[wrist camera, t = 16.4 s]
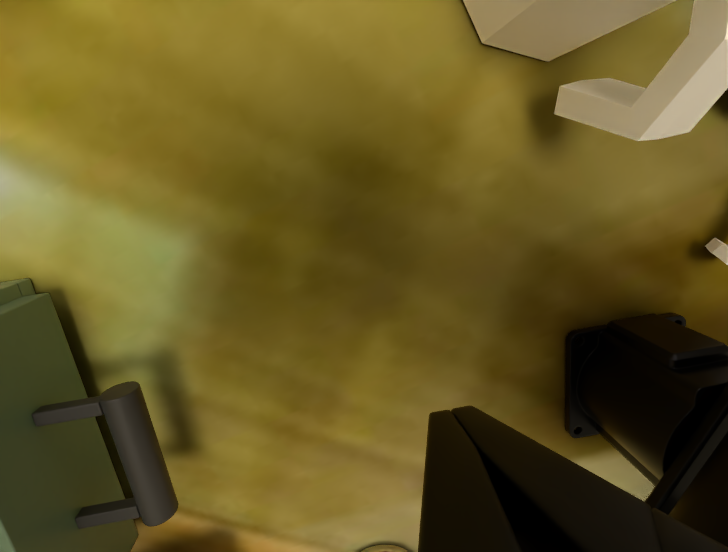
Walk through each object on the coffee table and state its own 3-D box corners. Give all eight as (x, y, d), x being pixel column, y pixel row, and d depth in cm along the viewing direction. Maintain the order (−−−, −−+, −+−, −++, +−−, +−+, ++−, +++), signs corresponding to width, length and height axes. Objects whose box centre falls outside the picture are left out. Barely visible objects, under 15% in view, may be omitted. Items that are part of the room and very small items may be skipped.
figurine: (540, 144, 23) (641, 4, 19) (730, 257, 22) (884, 133, 18) (538, 156, 19) (664, -14, 15) (768, 294, 18) (974, 148, 14)
